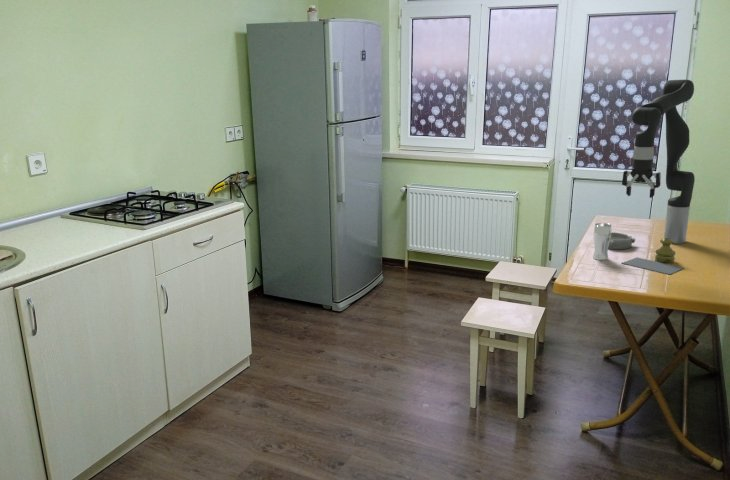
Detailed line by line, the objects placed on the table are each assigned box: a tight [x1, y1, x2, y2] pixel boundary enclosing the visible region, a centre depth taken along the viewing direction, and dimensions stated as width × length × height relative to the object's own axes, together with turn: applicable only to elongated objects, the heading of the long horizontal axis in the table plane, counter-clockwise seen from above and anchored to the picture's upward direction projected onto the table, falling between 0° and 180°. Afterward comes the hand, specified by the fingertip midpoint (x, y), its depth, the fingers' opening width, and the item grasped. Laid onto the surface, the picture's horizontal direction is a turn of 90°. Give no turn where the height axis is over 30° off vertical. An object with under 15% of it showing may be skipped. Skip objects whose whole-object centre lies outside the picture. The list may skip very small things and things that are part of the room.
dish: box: [608, 231, 636, 250], centre depth 271 cm, size 14×14×5 cm
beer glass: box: [592, 222, 612, 261], centre depth 252 cm, size 7×7×15 cm
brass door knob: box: [654, 238, 676, 265], centre depth 246 cm, size 7×7×10 cm
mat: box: [621, 256, 685, 275], centre depth 242 cm, size 12×20×1 cm, turn 37°
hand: (639, 196), depth 243 cm, fingers open, 8 cm apart
